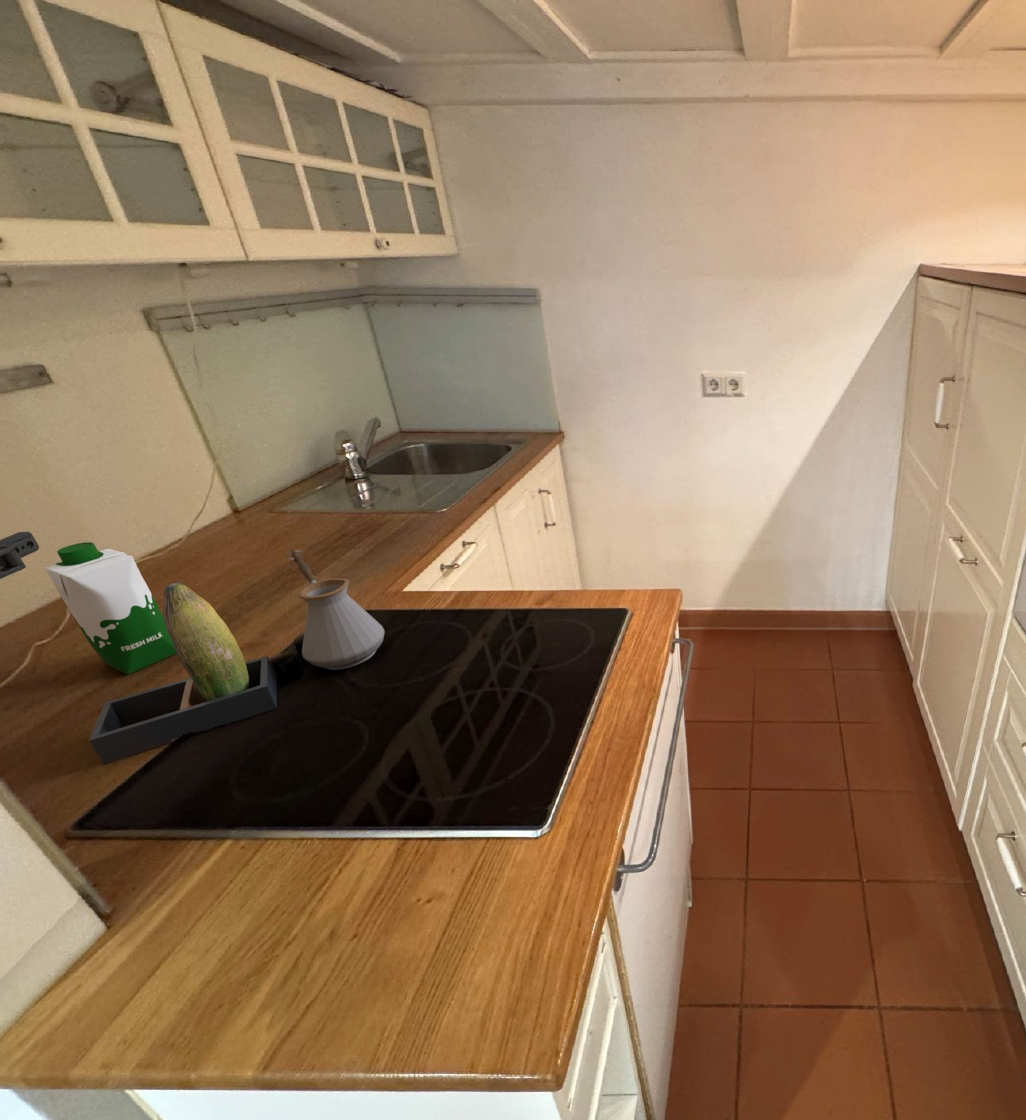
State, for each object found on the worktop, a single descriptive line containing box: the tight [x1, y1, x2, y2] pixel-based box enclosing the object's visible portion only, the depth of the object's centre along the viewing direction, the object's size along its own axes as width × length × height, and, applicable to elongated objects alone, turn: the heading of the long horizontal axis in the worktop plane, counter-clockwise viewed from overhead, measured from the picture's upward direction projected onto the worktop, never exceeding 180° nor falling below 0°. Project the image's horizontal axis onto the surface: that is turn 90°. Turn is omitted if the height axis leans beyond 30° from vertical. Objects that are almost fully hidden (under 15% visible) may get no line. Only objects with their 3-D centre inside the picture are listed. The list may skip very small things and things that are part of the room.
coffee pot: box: [286, 549, 386, 671], centre depth 100 cm, size 21×12×15 cm, turn 48°
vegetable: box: [162, 582, 250, 702], centre depth 85 cm, size 6×6×20 cm
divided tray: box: [88, 655, 278, 765], centre depth 87 cm, size 18×10×4 cm, turn 126°
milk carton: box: [44, 541, 177, 675], centre depth 97 cm, size 9×9×20 cm
